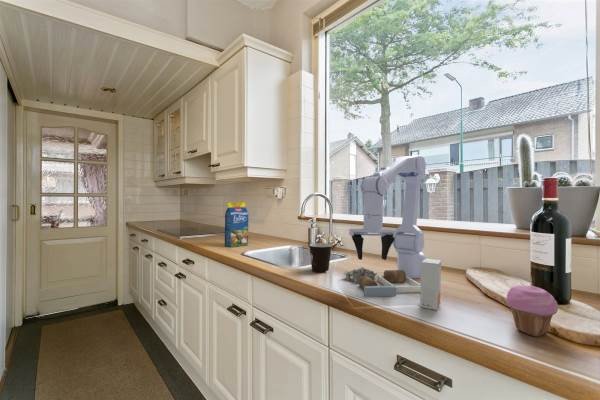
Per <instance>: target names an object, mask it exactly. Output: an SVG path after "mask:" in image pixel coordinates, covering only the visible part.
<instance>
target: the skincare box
mask: <svg viewBox="0 0 600 400" xmlns="http://www.w3.org/2000/svg"><path fill="white" fill-rule="evenodd" d="M441 274H442V260H441V259H432V258H426V259H425V260H423V261H422V262H421V278H420V284H421V292H420V295H419V296H420V297H419V298H420V299H419V302H420V304H419V305H420V306H419V307H420V308H422V309H423V308H424V309H428V310H429V309H430V310H434V311H438V308H439V306H440V304H441V287H442V286H441V283H442V282H441V281H442V279H441V278H442V275H441Z"/></svg>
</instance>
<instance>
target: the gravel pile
mask: <svg viewBox="0 0 600 400" xmlns="http://www.w3.org/2000/svg"><path fill="white" fill-rule="evenodd" d="M377 274H378V272H374V271H373V270H371V269H368V268H365V267H362V266H361V267H360V268H359V267H358V268H356V269H352V270H349V271H348V270H345V271H344V273H343V276H345V280H346V281H352V282H353V283H355V284H357V283H358V284H359V279H360V277H362V276H364V275H366V276H368V277H370V278H371V279H372V280H374V281H375V279H376V276H377Z"/></svg>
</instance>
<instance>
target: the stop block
mask: <svg viewBox="0 0 600 400" xmlns="http://www.w3.org/2000/svg"><path fill="white" fill-rule="evenodd" d="M363 296H364V297H366V298H367V297H395V296H397V293H396V287H395V286H384V285H378V286H364V289H363Z"/></svg>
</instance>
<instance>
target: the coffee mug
mask: <svg viewBox="0 0 600 400" xmlns="http://www.w3.org/2000/svg"><path fill="white" fill-rule="evenodd" d="M332 247H333V246H332V244H329V243H310V244H309V255H310V264H311V272H313V273H315V274H316V273H317V274H318V273H319V274H325V273H327V272H328V271H329V268H330V260H331V253H332Z"/></svg>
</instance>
